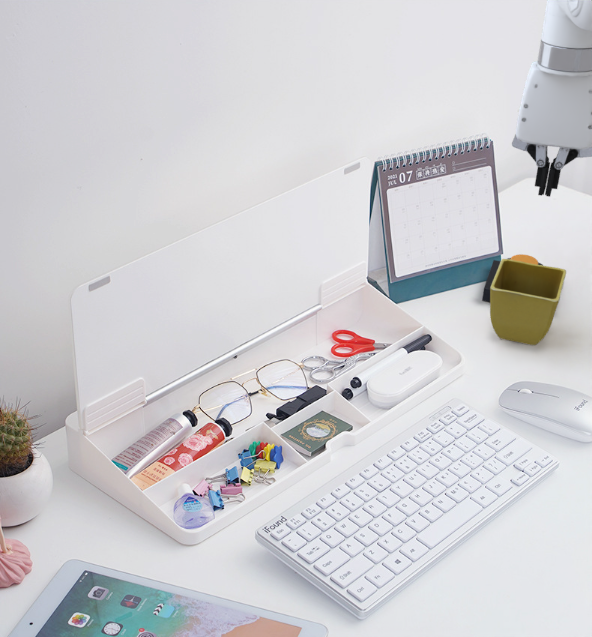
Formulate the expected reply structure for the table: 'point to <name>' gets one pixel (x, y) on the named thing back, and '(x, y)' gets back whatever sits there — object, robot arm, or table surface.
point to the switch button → (524, 259)
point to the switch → (491, 280)
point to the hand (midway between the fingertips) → (545, 191)
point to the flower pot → (524, 300)
